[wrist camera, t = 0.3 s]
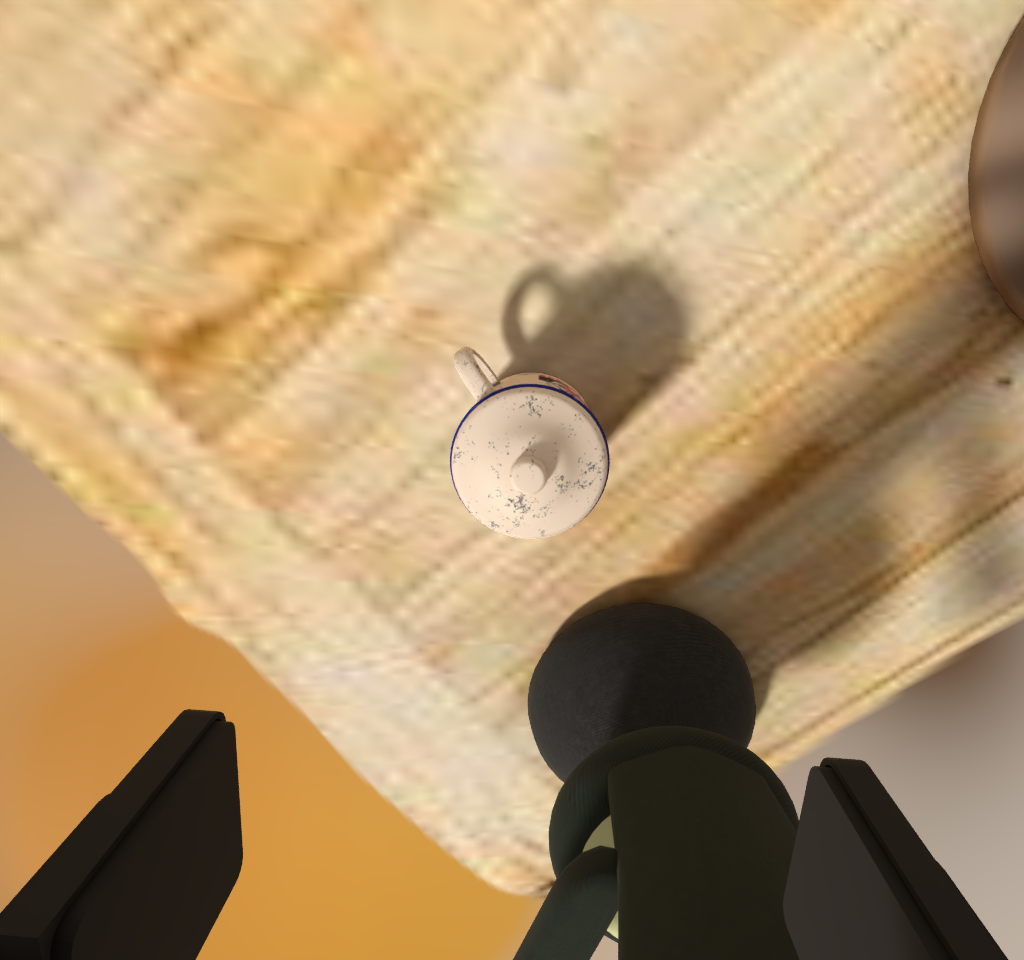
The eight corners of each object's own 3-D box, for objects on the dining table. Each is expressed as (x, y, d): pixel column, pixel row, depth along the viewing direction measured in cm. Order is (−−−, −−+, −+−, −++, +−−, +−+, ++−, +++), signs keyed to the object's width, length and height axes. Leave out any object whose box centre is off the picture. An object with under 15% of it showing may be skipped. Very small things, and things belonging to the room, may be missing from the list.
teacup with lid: (622, 450, 46) (648, 500, 35) (515, 520, 48) (507, 589, 37) (524, 304, 44) (518, 306, 32) (414, 382, 45) (373, 411, 34)
